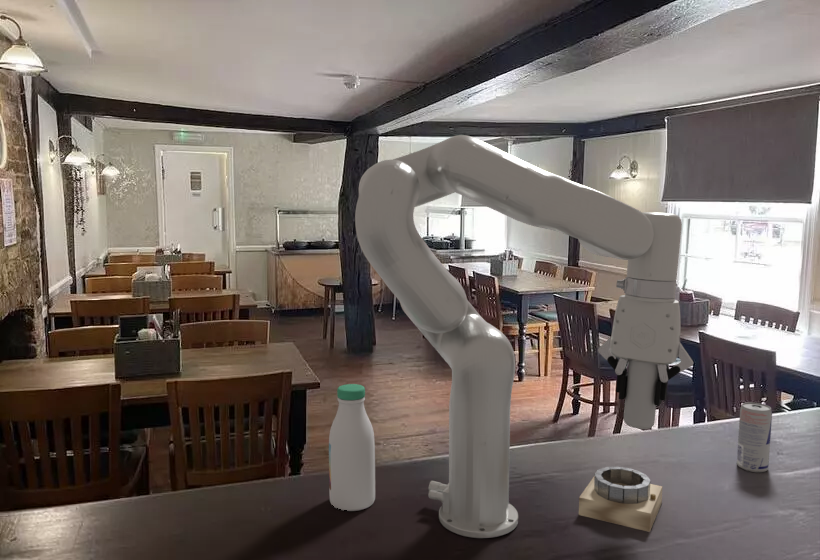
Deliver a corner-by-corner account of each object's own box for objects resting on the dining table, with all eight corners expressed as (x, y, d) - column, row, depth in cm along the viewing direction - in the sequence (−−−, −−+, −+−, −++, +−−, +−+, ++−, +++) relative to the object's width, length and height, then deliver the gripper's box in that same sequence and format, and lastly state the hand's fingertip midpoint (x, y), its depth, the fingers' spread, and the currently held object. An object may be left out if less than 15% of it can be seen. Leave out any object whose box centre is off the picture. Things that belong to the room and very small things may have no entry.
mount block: (578, 514, 105) (579, 493, 105) (595, 489, 115) (596, 469, 114) (649, 532, 100) (650, 509, 99) (661, 503, 109) (662, 482, 109)
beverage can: (656, 431, 104) (663, 358, 102) (624, 428, 105) (631, 355, 103) (651, 422, 108) (658, 351, 107) (621, 418, 109) (627, 349, 108)
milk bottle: (384, 501, 110) (384, 386, 108) (350, 517, 105) (349, 396, 102) (354, 487, 115) (352, 378, 113) (320, 502, 110) (318, 387, 107)
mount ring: (589, 496, 105) (589, 481, 105) (601, 476, 113) (602, 463, 112) (643, 508, 101) (644, 493, 101) (653, 487, 108) (654, 473, 108)
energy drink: (769, 465, 125) (773, 405, 123) (767, 475, 120) (771, 412, 119) (738, 459, 128) (741, 400, 126) (735, 468, 123) (738, 407, 122)
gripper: (590, 286, 104) (581, 396, 107) (705, 298, 96) (693, 417, 98) (602, 282, 111) (593, 386, 113) (710, 293, 103) (699, 405, 105)
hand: (640, 399), depth 106 cm, fingers closed on beverage can, 4 cm apart
